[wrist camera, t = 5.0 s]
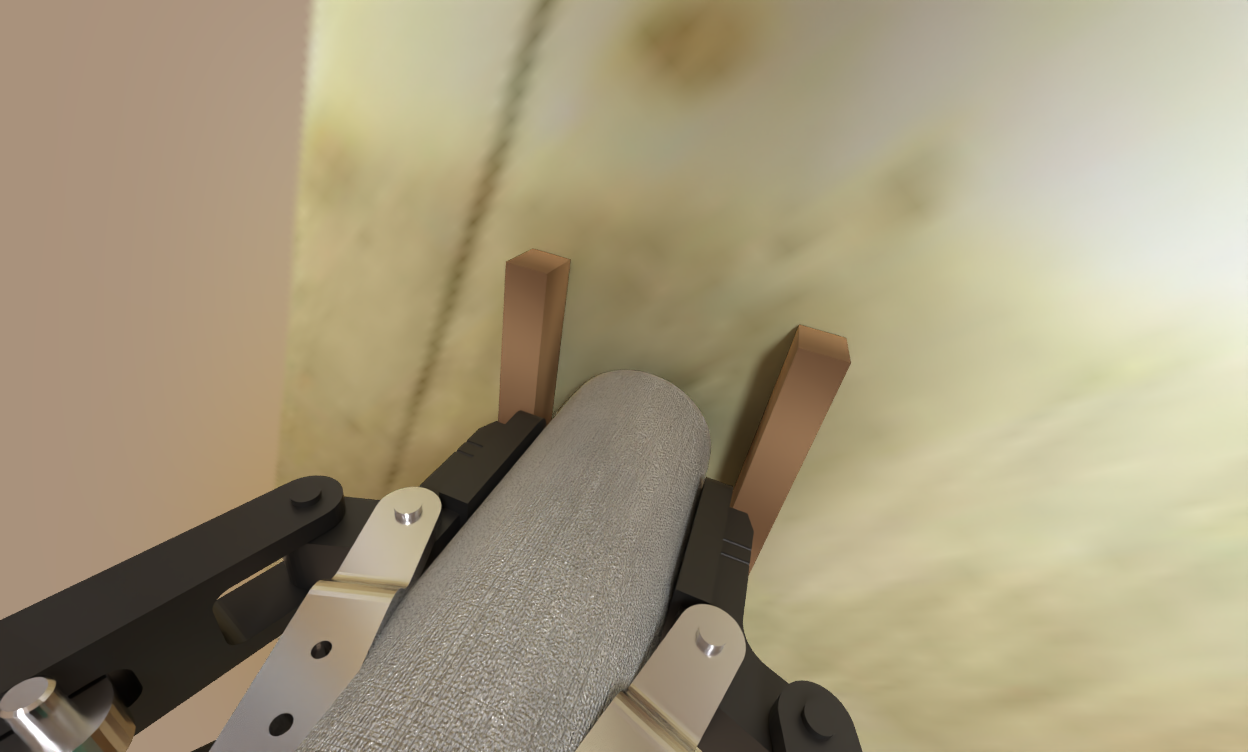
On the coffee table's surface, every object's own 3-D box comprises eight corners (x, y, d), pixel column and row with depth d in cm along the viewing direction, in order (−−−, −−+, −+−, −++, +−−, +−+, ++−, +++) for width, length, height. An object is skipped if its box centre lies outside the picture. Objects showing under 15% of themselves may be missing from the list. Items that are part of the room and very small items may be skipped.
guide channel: (532, 248, 14) (485, 272, 12) (846, 338, 12) (854, 383, 10) (504, 614, 23) (474, 663, 21) (681, 693, 22) (668, 755, 20)
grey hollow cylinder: (600, 500, 16) (372, 926, 8) (545, 383, 15) (187, 752, 6) (731, 487, 14) (623, 1039, 6) (683, 351, 13) (438, 826, 4)
